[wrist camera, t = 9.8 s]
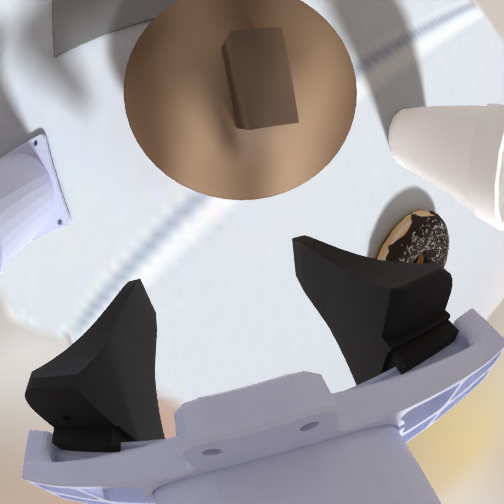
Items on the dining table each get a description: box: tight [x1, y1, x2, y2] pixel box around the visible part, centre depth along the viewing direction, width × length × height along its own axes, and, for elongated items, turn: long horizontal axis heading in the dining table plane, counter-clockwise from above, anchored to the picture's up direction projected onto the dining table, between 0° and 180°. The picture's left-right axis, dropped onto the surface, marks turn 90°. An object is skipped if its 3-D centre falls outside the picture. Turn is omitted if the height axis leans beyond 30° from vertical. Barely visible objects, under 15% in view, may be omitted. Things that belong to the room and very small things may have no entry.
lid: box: [124, 0, 357, 200], centre depth 12 cm, size 14×14×4 cm
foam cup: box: [388, 104, 504, 232], centre depth 17 cm, size 10×9×13 cm
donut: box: [377, 210, 449, 268], centre depth 28 cm, size 11×12×4 cm
